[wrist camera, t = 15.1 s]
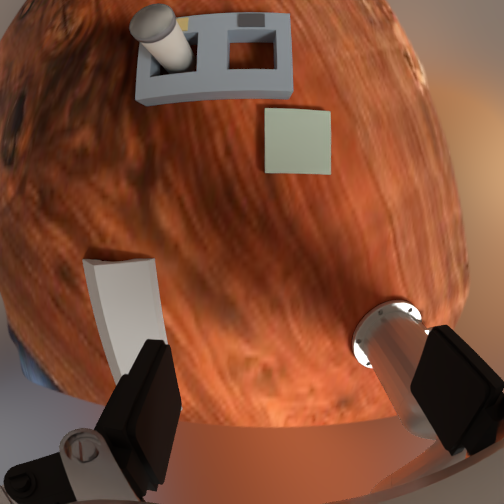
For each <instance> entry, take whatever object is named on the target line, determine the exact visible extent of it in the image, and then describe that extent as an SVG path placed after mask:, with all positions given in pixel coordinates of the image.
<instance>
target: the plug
mask: <svg viewBox="0 0 504 504" xmlns="http://www.w3.org/2000/svg"><path fill="white" fill-rule="evenodd" d="M129 30H130V33H131V34H132V36H133V37H134V38H135V39H136V40H138V41H139V42H141V43H142V44H143V46H144V47H145V48H146V49H147V50H148V51H149V52H150V53H151V54H152V55H153V56H154V57H155V59H156V60H157V61H158V62H159V63H160V64H161V65H162V66H163V67H164V68H165V70H166V71H167V72H168V73H169V74H177V73H186V72H193V71H194V69H195V68H196V65H197V60H196V57H195V55H194V53H193V51H192V49H191V47H190V45H189V43H188V41H187V40H186V38H185V36H184V34H183V32H182V30H181V28H180V26H179V24H178V22H177V20H176V16H175V14H174V12H173V10H172V9H171V8H170V7H169V6H167V5H165V4H152V5H149V6H146V7H144V8H143V9H141V10H140V11H138V12H137V13H136V14H135V15H134V17H133V18H132V20H131V22H130V26H129Z"/></svg>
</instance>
